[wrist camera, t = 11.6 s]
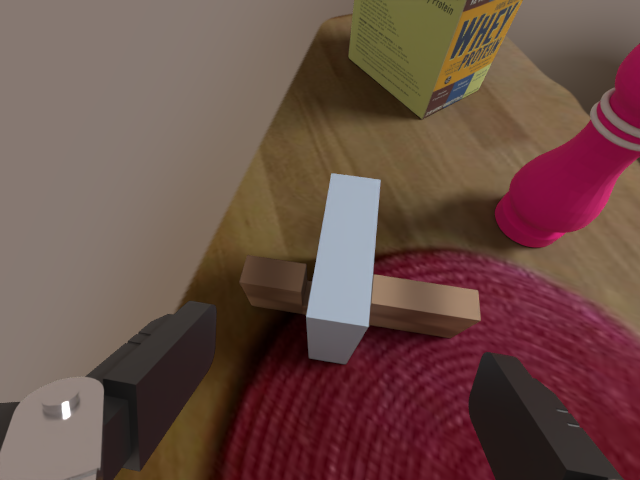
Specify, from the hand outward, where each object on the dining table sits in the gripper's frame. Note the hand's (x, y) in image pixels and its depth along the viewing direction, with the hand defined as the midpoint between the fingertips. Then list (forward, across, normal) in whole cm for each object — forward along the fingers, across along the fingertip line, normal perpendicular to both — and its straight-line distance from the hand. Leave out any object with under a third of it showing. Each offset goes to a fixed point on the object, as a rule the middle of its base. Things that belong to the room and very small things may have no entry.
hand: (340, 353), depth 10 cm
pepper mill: (+26, -18, -1) cm, 31 cm away
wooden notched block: (+17, -1, +7) cm, 19 cm away
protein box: (+41, -5, -16) cm, 45 cm away
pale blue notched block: (+17, 0, +7) cm, 19 cm away
